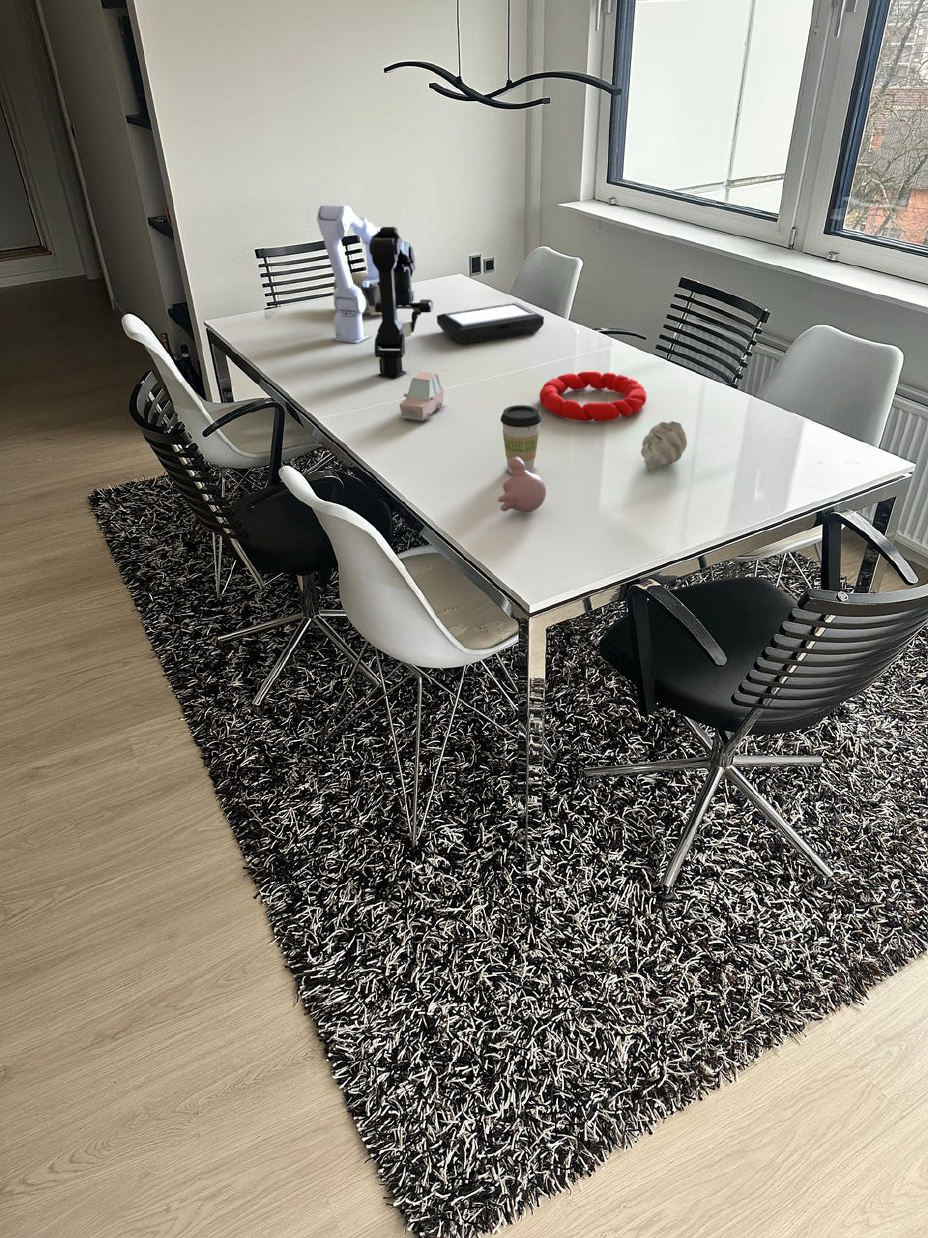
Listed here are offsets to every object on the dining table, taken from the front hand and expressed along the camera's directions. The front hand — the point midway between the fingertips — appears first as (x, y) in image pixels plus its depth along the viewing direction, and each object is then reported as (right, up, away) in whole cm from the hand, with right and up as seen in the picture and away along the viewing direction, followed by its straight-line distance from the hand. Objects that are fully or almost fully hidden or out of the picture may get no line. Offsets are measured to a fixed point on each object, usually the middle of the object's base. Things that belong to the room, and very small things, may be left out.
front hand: (405, 331), depth 300 cm
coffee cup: (+34, -60, -79) cm, 105 cm away
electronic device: (+29, +4, +14) cm, 33 cm away
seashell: (+68, -58, -79) cm, 120 cm away
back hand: (-11, +17, +22) cm, 30 cm away
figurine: (+33, -72, -98) cm, 126 cm away
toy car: (+8, -39, -47) cm, 61 cm away
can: (0, -1, +1) cm, 1 cm away
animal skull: (-18, +21, +41) cm, 50 cm away
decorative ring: (+56, -35, -45) cm, 80 cm away
